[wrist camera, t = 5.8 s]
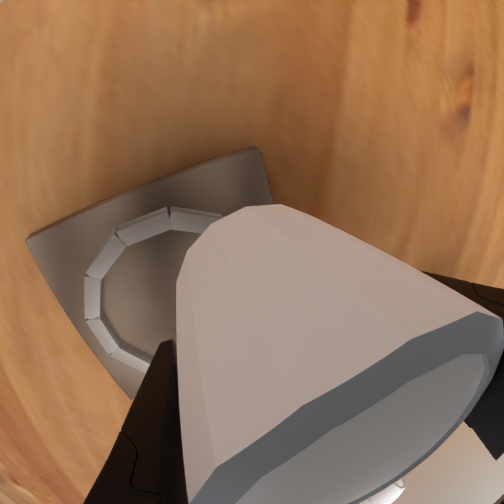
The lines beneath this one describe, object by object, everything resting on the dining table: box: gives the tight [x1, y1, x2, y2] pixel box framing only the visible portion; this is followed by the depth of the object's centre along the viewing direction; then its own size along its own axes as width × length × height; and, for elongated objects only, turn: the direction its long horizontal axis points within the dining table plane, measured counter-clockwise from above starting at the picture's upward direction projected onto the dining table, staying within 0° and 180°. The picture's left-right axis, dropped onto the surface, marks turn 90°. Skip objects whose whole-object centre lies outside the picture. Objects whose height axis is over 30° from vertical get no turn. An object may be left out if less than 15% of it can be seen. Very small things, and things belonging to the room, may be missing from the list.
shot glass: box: [176, 204, 504, 504], centre depth 8 cm, size 7×7×7 cm
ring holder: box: [25, 146, 273, 399], centre depth 20 cm, size 15×15×2 cm
